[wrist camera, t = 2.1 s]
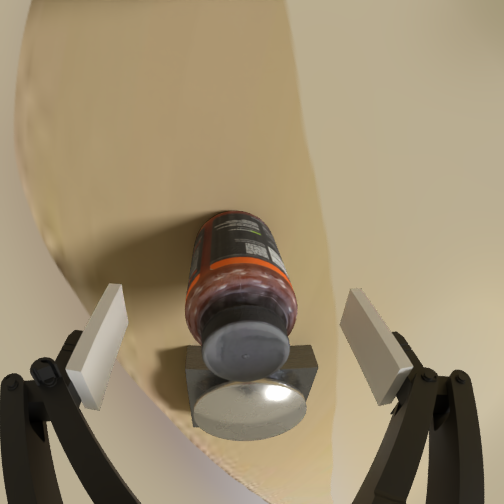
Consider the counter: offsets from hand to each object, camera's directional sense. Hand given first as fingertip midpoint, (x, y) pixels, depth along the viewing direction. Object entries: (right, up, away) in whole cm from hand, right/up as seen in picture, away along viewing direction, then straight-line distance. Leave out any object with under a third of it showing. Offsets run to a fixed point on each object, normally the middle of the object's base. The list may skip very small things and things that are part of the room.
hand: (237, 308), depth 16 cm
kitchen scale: (0, -11, +13) cm, 17 cm away
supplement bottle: (-1, +4, +6) cm, 7 cm away
